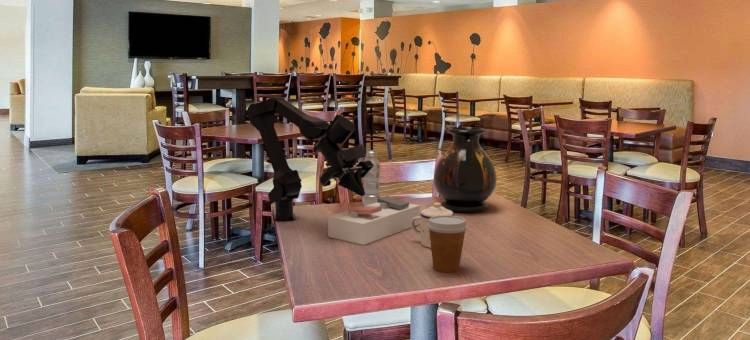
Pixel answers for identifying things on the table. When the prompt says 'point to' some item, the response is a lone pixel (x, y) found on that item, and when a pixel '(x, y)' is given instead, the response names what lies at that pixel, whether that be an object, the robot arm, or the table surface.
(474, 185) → the amphora vase
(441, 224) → the disposable coffee cup
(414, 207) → the block
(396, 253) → the table surface
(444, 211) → the teacup with lid
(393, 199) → the charcoal rocker
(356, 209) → the red rocker
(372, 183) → the plastic bottle
